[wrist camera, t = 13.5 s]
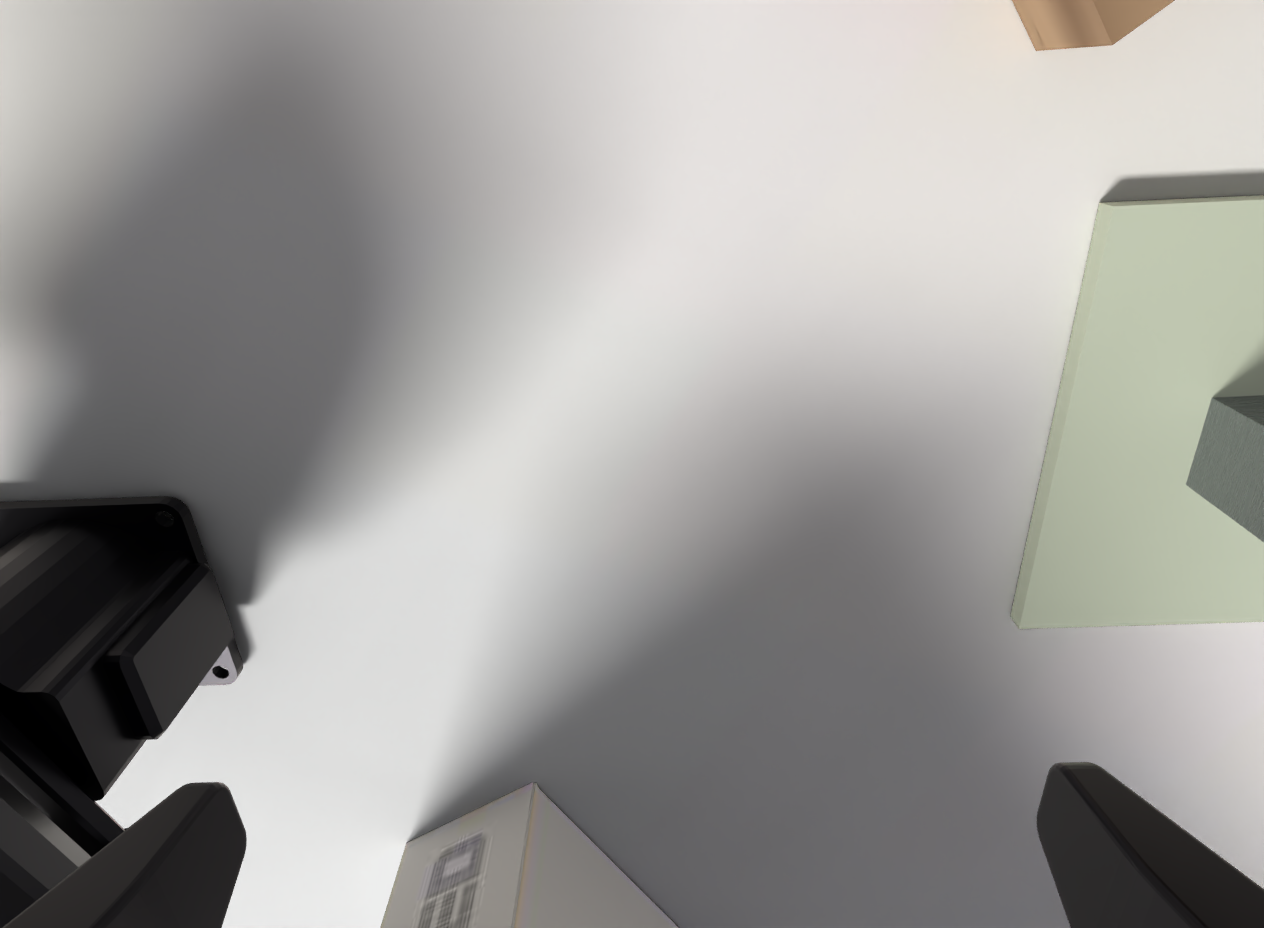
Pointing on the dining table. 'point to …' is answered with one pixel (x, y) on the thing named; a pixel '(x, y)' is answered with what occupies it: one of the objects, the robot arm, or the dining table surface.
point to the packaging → (514, 874)
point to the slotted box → (1083, 21)
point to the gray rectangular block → (1233, 460)
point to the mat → (1149, 424)
